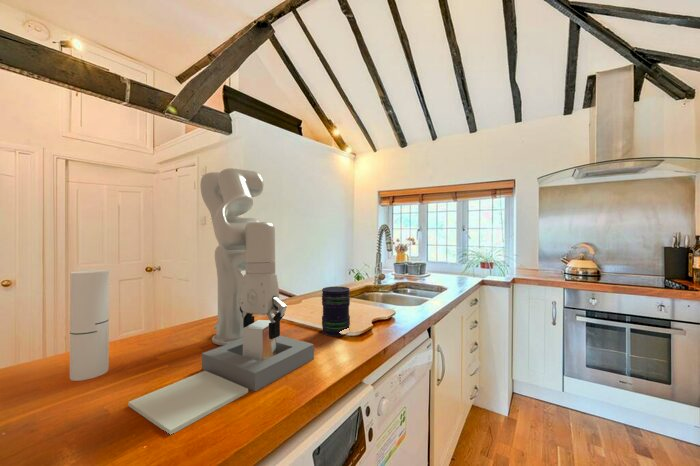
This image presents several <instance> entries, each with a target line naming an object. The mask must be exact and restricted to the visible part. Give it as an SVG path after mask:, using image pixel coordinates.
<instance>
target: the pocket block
mask: <svg viewBox="0 0 700 466" xmlns="http://www.w3.org/2000/svg"><path fill="white" fill-rule="evenodd" d="M314 359H315V344H314V343H311V342H307V341H303V340H298V339H294V338H292V337H287V336H283V335H280V336H279V337H276V355H274V356H272V357H270V358H268V359H266V360H264V361H261V362H259V361H256V360H253V359H250V358H247V357H245V356H243V339H241V340H238V341H235V342H232V343H230V344H227V345H220V346H219V347H216V348H213V349H209V350H207V351H205V352H201V370H203V371H207V372H210V373H212V374H214V375H217V376H219V377H222V378H224V379H226V380H229V381H231V382H233V383H236V384H238V385H240V386H243V387H245V388H248V390H249V391H253V392H257V391H259V390H260V389H263V388H264V387H267V386H268V385H270V384H272V383H273V382H276V381H277V380H279V379H280V378H282V377H284V376H286V375H288V374H289V373H292V372H293V371H295V370H297V369H298V368H300V367H302V366H304V365H305V364H307V363H308V362H311V361H312V360H314Z"/></svg>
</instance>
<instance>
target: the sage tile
mask: <svg viewBox="0 0 700 466" xmlns="http://www.w3.org/2000/svg"><path fill="white" fill-rule="evenodd" d="M246 394H249V389H248V388H245V387H243V386H240V385H238V384H236V383H233V382H231V381H229V380H226V379H224V378H222V377H219V376H217V375H214V374H212V373H210V372H207V371H205V370H203V371H200V372H198V373H195V374H194V375H191V376H188V377H185V378H183V379H180V380H178V381H176V382H174V383H172V384H169V385H166V386H164V387H162V388H159V389H156V390H154V391H151V392H149V393H146V394H144V395H143V396H140V397H137V398H134V399H132V400H130V401H128V407H129V408H130V409H132V410H134V411H135V412H136V413H138V414H139V415H140V416H142V417H143V418H145V419H146V420H148V421H149V422H151V423H152V424H154V425H155V426H156V427H158V428H160V429H161V430H162V431H163V430H164V431H163V432H165V431H166V432H167V433H166V432H165V433H166V434H168V433H169V434H170V435H169V434H168V435H169V436H172V435H173V433H174V434H176V433H177V432H179V431H182V430H183V429H185V428H186V427H188V426H190V425H192V424H193V423H195V422H197V421H199V420H201V419H203V418H204V417H206V416H208V415H210V414H211V413H213V412H215V411H217V410H219V409H222V407H224V406H226V405H228V404H230V403H231V402H233V401H235V400H238V399H239V398H240V397H243V396H244V395H246ZM171 434H172V435H171Z"/></svg>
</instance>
